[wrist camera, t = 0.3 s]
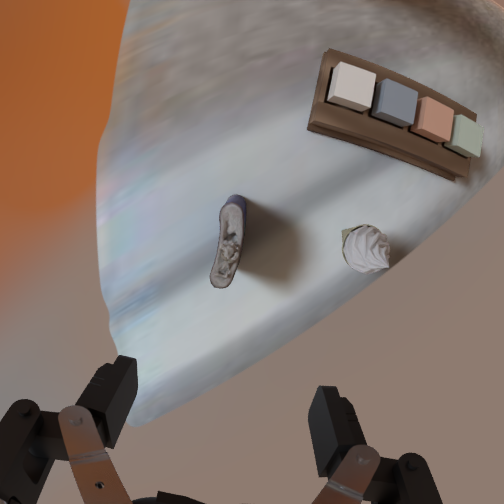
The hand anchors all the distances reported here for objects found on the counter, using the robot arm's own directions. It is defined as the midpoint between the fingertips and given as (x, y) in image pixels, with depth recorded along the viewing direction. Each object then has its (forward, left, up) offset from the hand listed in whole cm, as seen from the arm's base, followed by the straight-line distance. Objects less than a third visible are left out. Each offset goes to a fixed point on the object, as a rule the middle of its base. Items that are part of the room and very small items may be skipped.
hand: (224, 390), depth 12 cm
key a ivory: (-21, +8, -24) cm, 33 cm away
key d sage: (-21, +24, -24) cm, 40 cm away
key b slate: (-21, +13, -24) cm, 35 cm away
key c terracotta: (-21, +19, -24) cm, 37 cm away
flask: (-1, -1, -29) cm, 29 cm away
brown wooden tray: (-21, +16, -28) cm, 39 cm away
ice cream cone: (-4, +13, -29) cm, 31 cm away
